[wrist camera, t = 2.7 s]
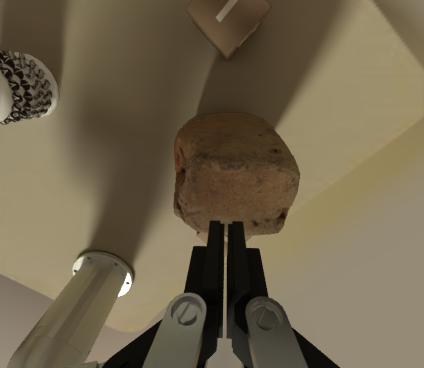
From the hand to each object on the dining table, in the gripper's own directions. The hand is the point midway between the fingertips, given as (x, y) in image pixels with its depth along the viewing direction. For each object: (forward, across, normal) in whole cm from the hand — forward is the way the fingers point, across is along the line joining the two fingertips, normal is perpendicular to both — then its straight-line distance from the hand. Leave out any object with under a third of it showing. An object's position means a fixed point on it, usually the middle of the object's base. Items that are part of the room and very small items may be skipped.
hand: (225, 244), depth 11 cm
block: (+24, 0, 0) cm, 24 cm away
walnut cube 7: (+24, 0, -14) cm, 28 cm away
